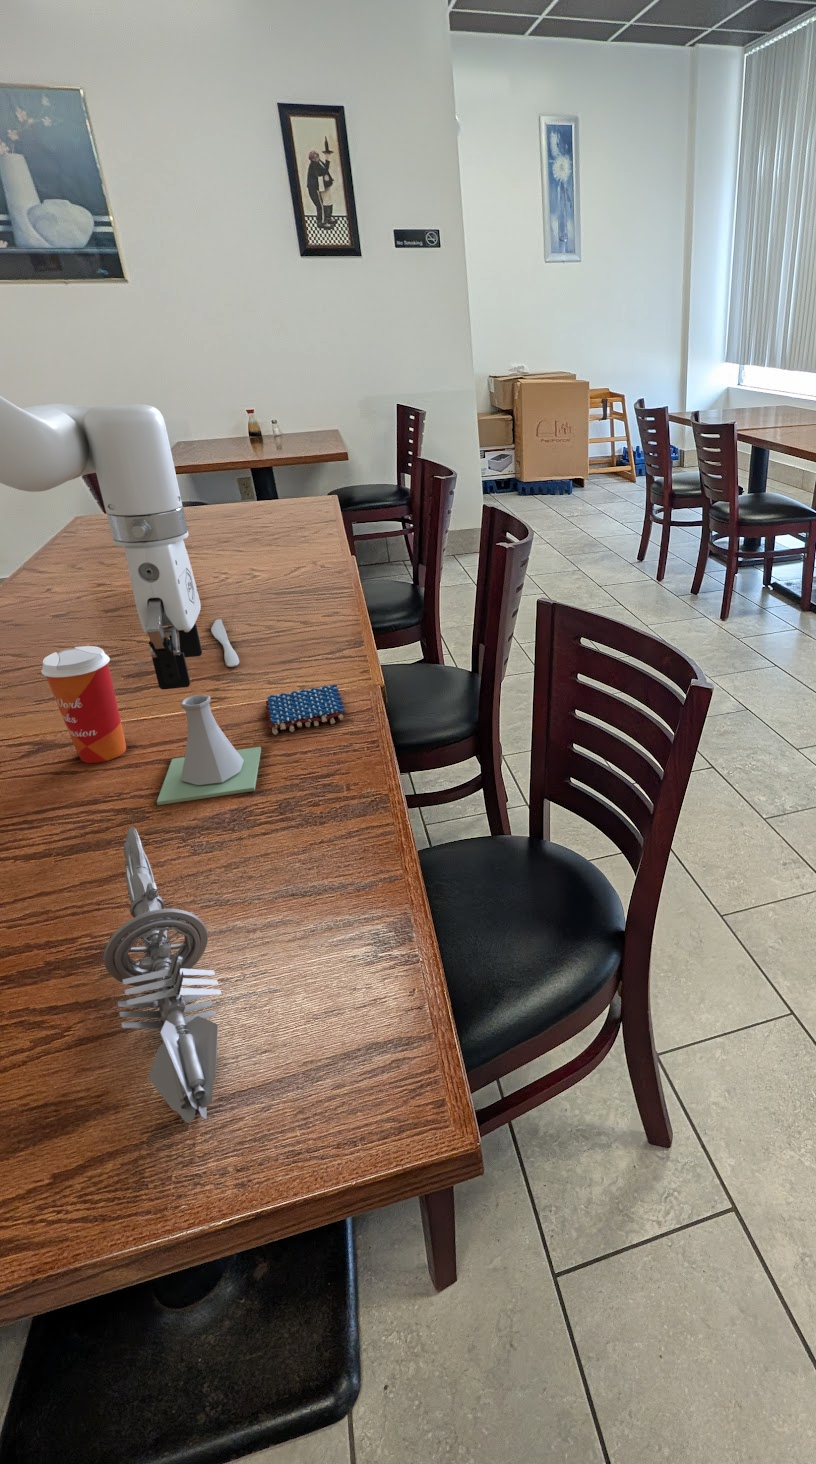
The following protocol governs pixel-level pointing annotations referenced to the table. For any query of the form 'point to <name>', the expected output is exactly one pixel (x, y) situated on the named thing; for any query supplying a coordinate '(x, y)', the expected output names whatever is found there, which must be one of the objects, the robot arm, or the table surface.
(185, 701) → the flask
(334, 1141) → the table surface
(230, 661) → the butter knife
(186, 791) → the coaster
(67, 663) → the paper cup
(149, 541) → the robot arm
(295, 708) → the woven mat
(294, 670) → the table surface
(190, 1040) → the spaceship
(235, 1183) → the table surface
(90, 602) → the table surface
